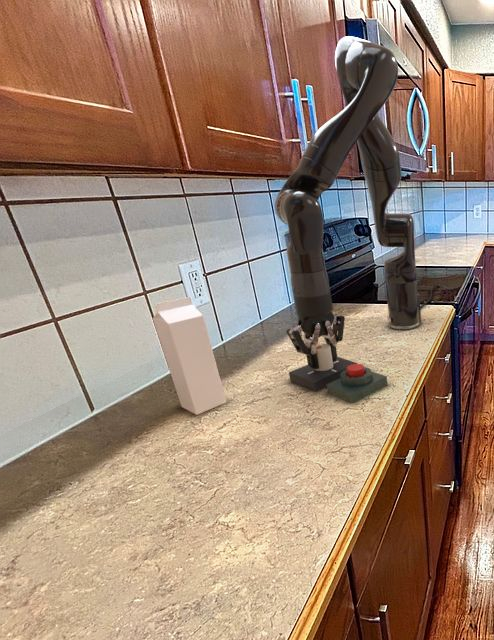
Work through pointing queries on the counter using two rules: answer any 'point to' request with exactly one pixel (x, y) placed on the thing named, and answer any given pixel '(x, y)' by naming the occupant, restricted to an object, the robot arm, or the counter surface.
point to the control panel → (319, 375)
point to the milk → (189, 355)
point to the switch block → (356, 385)
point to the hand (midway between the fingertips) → (323, 364)
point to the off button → (355, 370)
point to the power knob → (324, 357)
